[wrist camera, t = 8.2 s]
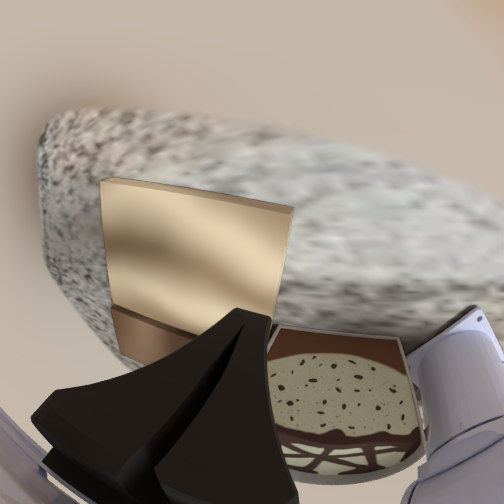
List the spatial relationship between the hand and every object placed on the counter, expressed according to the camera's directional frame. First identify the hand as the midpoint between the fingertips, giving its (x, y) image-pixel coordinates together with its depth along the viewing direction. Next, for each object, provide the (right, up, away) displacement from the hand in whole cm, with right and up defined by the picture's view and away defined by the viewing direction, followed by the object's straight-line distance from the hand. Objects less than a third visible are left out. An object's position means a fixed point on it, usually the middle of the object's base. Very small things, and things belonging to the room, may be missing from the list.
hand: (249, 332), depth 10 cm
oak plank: (-5, +2, +11) cm, 12 cm away
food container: (+7, -6, +12) cm, 15 cm away
